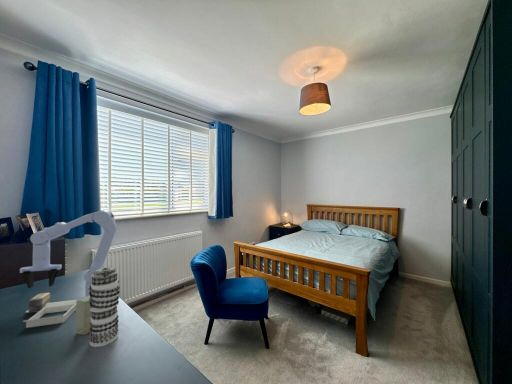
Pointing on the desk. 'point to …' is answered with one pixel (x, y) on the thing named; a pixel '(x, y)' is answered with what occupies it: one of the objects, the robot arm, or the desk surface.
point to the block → (39, 302)
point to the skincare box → (83, 315)
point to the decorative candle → (104, 306)
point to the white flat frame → (50, 308)
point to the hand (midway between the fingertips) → (41, 286)
